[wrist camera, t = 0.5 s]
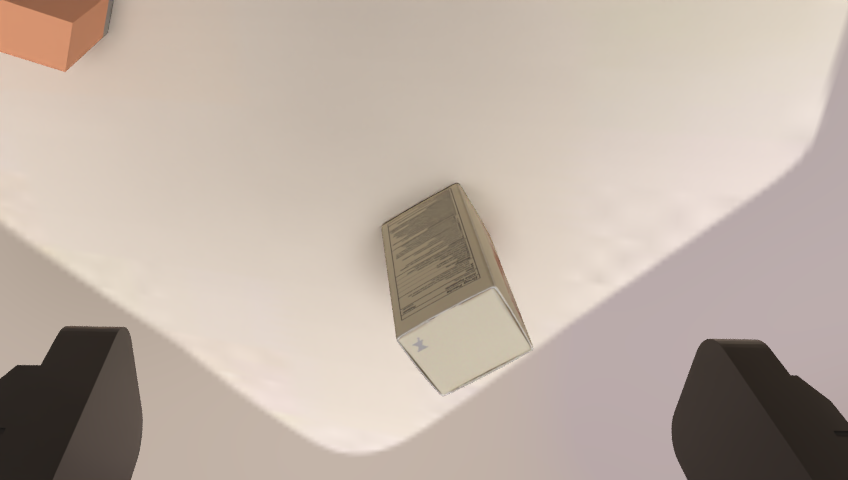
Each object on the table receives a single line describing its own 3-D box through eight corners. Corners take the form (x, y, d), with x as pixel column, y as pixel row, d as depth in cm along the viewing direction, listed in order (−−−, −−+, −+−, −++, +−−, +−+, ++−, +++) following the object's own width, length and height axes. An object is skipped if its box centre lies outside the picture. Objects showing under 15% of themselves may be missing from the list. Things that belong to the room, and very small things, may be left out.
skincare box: (418, 279, 42) (436, 402, 33) (378, 223, 39) (387, 339, 31) (497, 238, 41) (538, 353, 32) (461, 178, 38) (495, 284, 30)
